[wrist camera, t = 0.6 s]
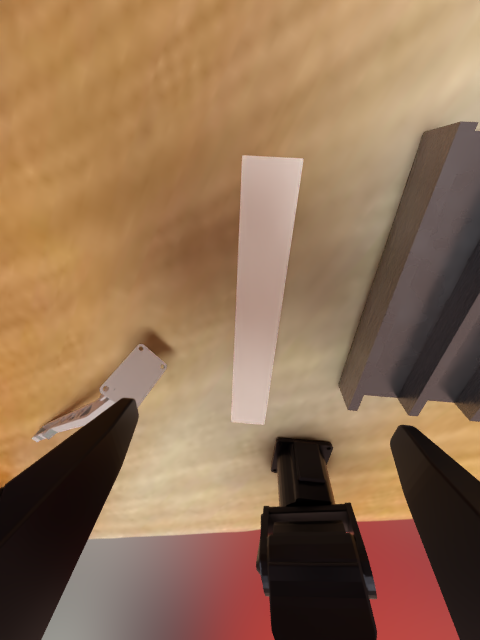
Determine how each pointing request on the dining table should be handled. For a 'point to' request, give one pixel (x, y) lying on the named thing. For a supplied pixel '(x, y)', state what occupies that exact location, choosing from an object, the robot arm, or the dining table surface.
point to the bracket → (113, 391)
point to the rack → (427, 286)
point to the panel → (261, 277)
